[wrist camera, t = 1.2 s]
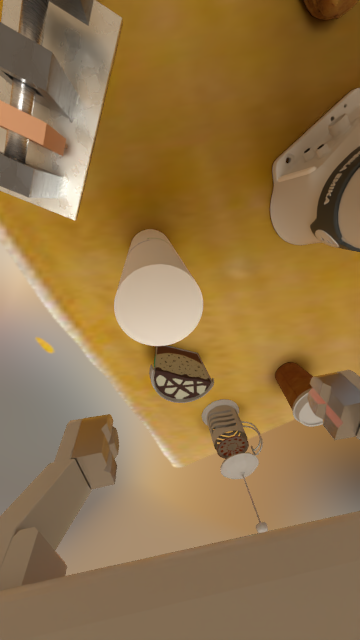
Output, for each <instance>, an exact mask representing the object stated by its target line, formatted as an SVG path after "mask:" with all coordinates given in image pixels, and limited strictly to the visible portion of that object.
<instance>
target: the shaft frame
mask: <svg viewBox="0 0 360 640" xmlns="http://www.w3.org/2000/svg"><path fill="white" fill-rule="evenodd" d="M21 3H22V0H3V10H2V21H1V22H0V100H1V101H3V102H5V103H7V104H9V105H10V99H11V90H12V82H13V77H15V78H17V79H19V80H20V81H22V82H24V83H26V84H28V85H30V86H32V87H34V88H35V89H36V93H35V100H34V107H33V114H32V116H33V117H35V118H37V119H39V120H41V121H43V122H45V123H47V124H48V125H50V126H51V127H52V128H53V129H55V130H56V131H57V132H58V133H59V134H61V135H62V136H63V137H64V138H66V143H65V148H64V153H63V156H61V155H59V154H57V153H55V152H53V151H51V150H48V149H46V148H44V147H42V146H40V145H38V144H36V143H33V142H31V141H28V148H27V155H26V162H25V164H23V163H21V162H19V161H17V160H14V159H12V158H10V157H7V156H5V155H4V151H5V142H6V134H7V130H6V129H3V128H1V127H0V191H2V192H5V193H7V194H10V195H12V196H15V197H17V198H20V199H22V200H25V201H27V202H30V203H32V204H35V205H37V206H40V207H42V208H45V209H47V210H50V211H52V212H55V213H58V214H60V215H63V216H65V217H68V218H70V219H73V220H77V216H78V212H79V207H80V203H81V199H82V195H83V190H84V186H85V182H86V178H87V173H88V169H89V165H90V161H91V156H92V152H93V148H94V143H95V139H96V135H97V131H98V126H99V122H100V118H101V114H102V109H103V105H104V101H105V97H106V92H107V88H108V84H109V80H110V75H111V71H112V67H113V63H114V58H115V54H116V50H117V46H118V41H119V37H120V33H121V28H122V24H123V22H122V18H121V17H120V16H118V15H117V14H115V13H114V12H112V11H111V10H109V9H108V8H106V7H105V6H103V5H102V4H100V3H99V2H97V1H96V0H94V1H93V6H92V11H91V16H90V21H89V26H88V25H86V24H85V23H83V22H81V21H80V20H78V19H77V18H75V17H73V16H72V15H70V14H69V13H67V12H65V11H64V10H62V9H61V8H59V7H58V6H56V5H54V4H53V3H51V2H50V1H49V4H48V11H47V18H46V25H45V32H44V39H43V45H42V46H41V45H39V44H38V43H36V42H34V41H32V40H31V39H29V38H27V37H25V36H24V35H22V34H20V33H18V29H19V21H20V12H21Z"/></svg>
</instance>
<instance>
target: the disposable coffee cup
mask: <svg viewBox="0 0 360 640" xmlns="http://www.w3.org/2000/svg"><path fill="white" fill-rule="evenodd" d="M312 377H313V376H312V375H310V374H309V373H308V372H307V371H305V370H304V369H303V368H301V367H300V366H299V365H298V364H296V363H293V362H290V363H286V364H284V365H282V366H281V367H280V368H279V369H278V370H277V372H276V374H275V378H276V380H277V382H278V384H279V386H280V388H281V389H282V391H283V393H284V395H285V397H286V399H287V401H288V403H289V405H290V406H291V408H292V411H293V415H294V418H295V419H296V420H297V421H299V422H301V423H302V424H304V425H306V426H317V425H321V424H323V419H321V418H319V417H317V416H316V415H315V414H314V413H313V411H312V410H311V408H310V406H309V403H308V392H309V391H310V390H311V389H312V388H313V387H312V386H311V385H310V381H311V379H312Z"/></svg>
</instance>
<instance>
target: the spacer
mask: <svg viewBox="0 0 360 640" xmlns="http://www.w3.org/2000/svg"><path fill="white" fill-rule="evenodd" d="M0 127H1V128H3V129H6V130H7V129H8V130H10V131H13V132H15V133H17V134H19V135H21V136H23V137H25V138H28V139H29V141H31V142H33V143H36V144H38V145H40V146H42V147H44V148H46V149H48V150H51V151H53V152H55V153H57V154H59V155H61V156H63V153H64V148H65V143H66V138H64V137H63V136H62V135H61V134H59V133H58V132H57V131H56V130H55V129H53V128H52V127H51V126H50V125H48V124H47V123H45V122H43V121H41V120H39V119H37V118H35V117H33V116H31V115H29V114H27V113H25V112H23V111H21V110H19V109H17V108H15V107H13V106H11V105H9V104H7V103H5V102H3V101H1V100H0Z"/></svg>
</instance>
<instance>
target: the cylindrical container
mask: <svg viewBox="0 0 360 640" xmlns="http://www.w3.org/2000/svg"><path fill="white" fill-rule="evenodd" d="M114 311H115V316H116V319H117V321H118V324H119V325H120V327H121V328H122V330H123V331H124V332H125V333H126V334H127V335H128V336H129V337H131V338H132V339H134V340H135V341H138V342H140V343H142V344H146V345H150V346H165V345H170V344H173V343H176V342H178V341H180V340H182V339H184V338H185V337H187V336H188V335H189V334H190V333H191V332H192V331H193V330H194V329H195V327H196V326H197V324H198V323H199V320H200V318H201V316H202V311H203V298H202V293H201V291H200V288H199V286H198V284H197V283H196V281H195V280H194V278H193V277H192V275H191V274H190V272H189V271H188V269H187V267H186V266H185V264H184V263H183V261H182V260H181V258H180V257H179V255H178V254H177V252H176V251H175V249H174V247H173V246H172V244H171V243H170V241H169V240H168V238H167V237H166V236H165V235H164V234H163V233H161V232H160V231H157V230H154V229H146V230H143V231H141V232H139V233H138V234H136V236H135V237H134V238H133V240H132V242H131V245H130V248H129V251H128V255H127V259H126V262H125V265H124V268H123V272H122V275H121V279H120V282H119V286H118V289H117V293H116V296H115V300H114Z"/></svg>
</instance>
